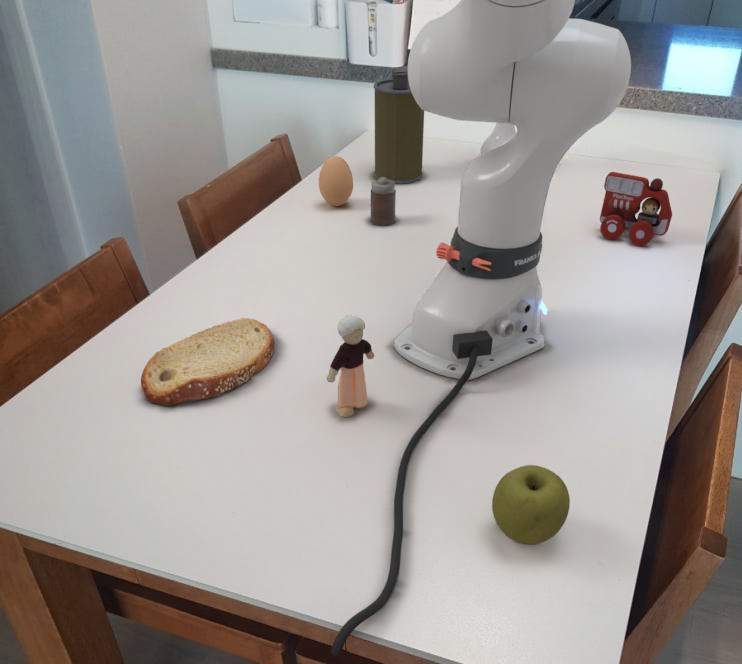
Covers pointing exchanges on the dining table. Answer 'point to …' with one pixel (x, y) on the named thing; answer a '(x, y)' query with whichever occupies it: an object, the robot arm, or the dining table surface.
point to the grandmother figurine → (350, 366)
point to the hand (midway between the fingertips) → (502, 11)
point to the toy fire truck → (634, 208)
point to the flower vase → (498, 136)
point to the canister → (398, 130)
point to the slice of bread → (208, 362)
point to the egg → (335, 181)
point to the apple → (530, 504)
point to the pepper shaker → (383, 202)
